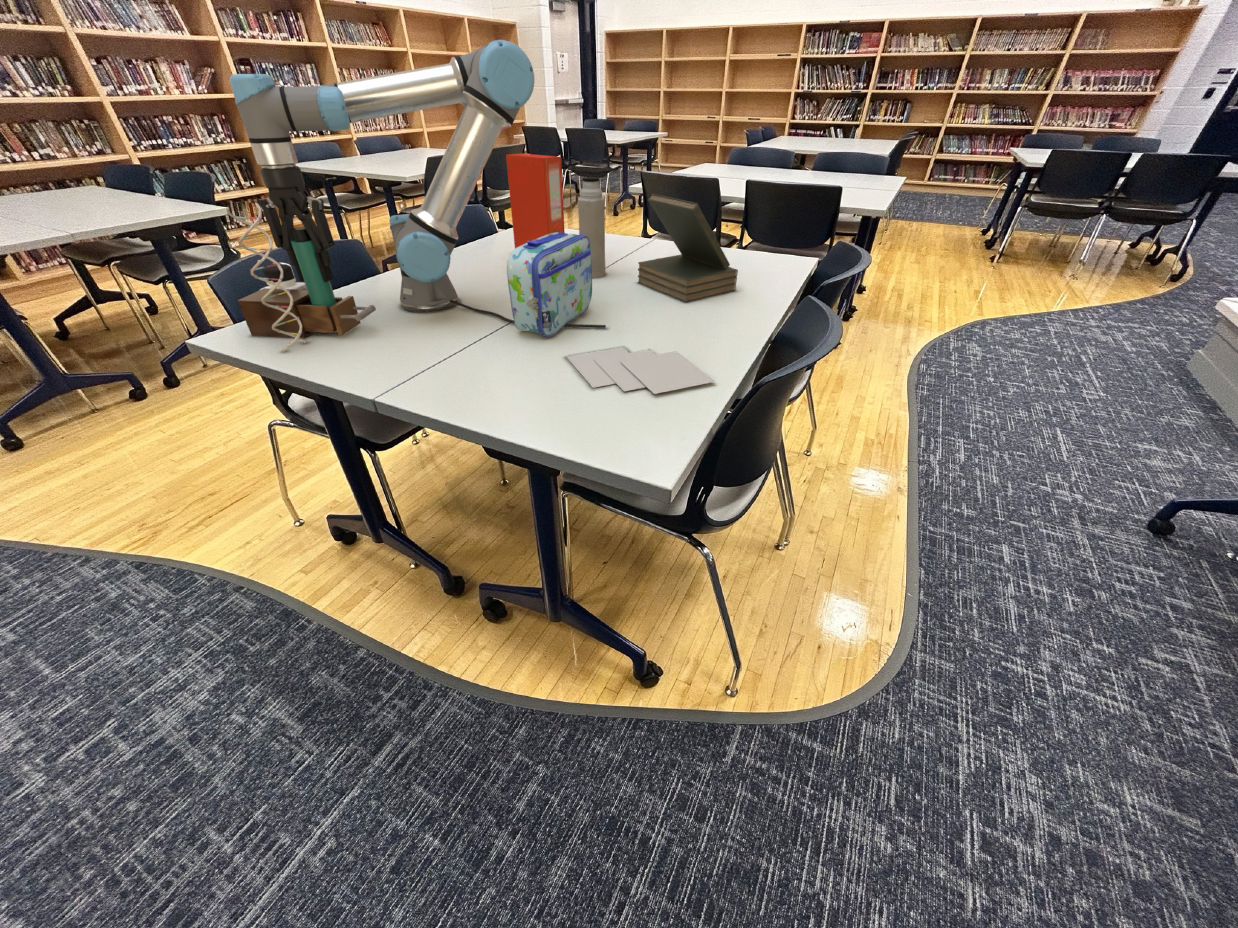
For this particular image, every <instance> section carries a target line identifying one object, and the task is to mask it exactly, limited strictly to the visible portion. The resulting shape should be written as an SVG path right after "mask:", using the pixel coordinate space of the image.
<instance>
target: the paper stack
mask: <svg viewBox="0 0 1238 928" xmlns="http://www.w3.org/2000/svg"><path fill="white" fill-rule="evenodd" d="M565 358H567V360H568V361H569V362H570V363H571V364H572V366H573V367H574V368H575V369H576V370H577V371H578V372H579V374H580V375H581V376H582V377H583V378H584V379H585V380H586V381H587V383H588V384H589V385H590V386H591V387H592V389H594V388H599V387H600V388H601V387H605V386H609V385H615V384H616V385H617V386H618V387H619V388H620V389H621V390H622V391H623V392H629V391H634V390H638V389H639V390H640V389H644V388H647V389H648V390H649V391H650V392H651V393H653V394H654V395H657V394H661V393H666V392H672V391H676V390H682V389H685V388H692V387H696V386H701V385H705V384H706V385H707V384H710V383H716V382H717V381H716V380H715V379H713V377H712V376H710V375H708V374H707V373H706V372H705V371H703V370H702V369H701V368H699V367H698V366H697V365H696V364H694V363H693V362H691V360H689V359H688V358H687V357H685V356H684V355H683V354H681V353H680V352H679V351H677V350H673V351H668V352H663V353H657V354H656V353H655V352H654V351H653V350H651V349H645V350H638V351H633V352H632V351H631V352H629V351H628V350H627V348H625V347H624V346H620V347H614V348H607V349H602V350H597V351H595V350H594V351H590V352H585V353H579V354H572V355H566V356H565Z"/></svg>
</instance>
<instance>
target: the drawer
mask: <svg viewBox="0 0 1238 928" xmlns="http://www.w3.org/2000/svg"><path fill="white" fill-rule="evenodd" d="M335 299H336V302H337V303H336V304H334V305H333V306H331V307H330V310H331V313H332V315H331V314H330V311H329V308H328V306H320V305H312V302H311V299H310V297H309V298H307V299H305V300H303V301H302V302H300V303H298V304H296V305H295V306H296V309H297V312H298V315H299V318H300V320H301V323H302V326H303V329H304V331H307V332H314V333H330V334H333V333H337V335H338V336H345V335H346V334H347V333H349V332H350V331H352V330H353V329H355V328H356V327H357V326H359V325H361V321H363V320H364V319H365V318H367V317H368V316H370V315H371V314H373V313H374V312H376V309H377V308H376V306H375V305H374V304H370V305H368V306H357V305H356V301H355V298H354V296H353V295H348V296H346V297H344V298H343V297H339V296H338V297H337V296H335ZM358 311H359V312H358Z"/></svg>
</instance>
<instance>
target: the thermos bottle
mask: <svg viewBox="0 0 1238 928" xmlns="http://www.w3.org/2000/svg"><path fill="white" fill-rule="evenodd" d="M599 182H600V178H599V177H596V176H586V177H585V176H584V177H582V188H581V189H580V190H579V197H578V198H577V208H578V209H577V210H578V212H577V213H578V235H579V234H584V235H586V236H587V237H588V239H589V243H590V251H591V264H592V279H597V278H602V277H604V276H606V222H605V221H606V220H605V219H606V218H605V217H606V216H605V214H606V213H605V210H606V209H605V198H604V197H603V190H602V189H601V188H600V183H599Z"/></svg>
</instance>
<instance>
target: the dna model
mask: <svg viewBox="0 0 1238 928" xmlns="http://www.w3.org/2000/svg"><path fill="white" fill-rule="evenodd" d="M255 206H256V208H257V210H258V214H257V217H255V216H254V217H252V216H251V217H246V216H237V215H234V214H233V213H232V212H231V211H230V207H229V206H226V208H225V212H226V214H227V215H228V216H230V217H231V218H233V219H234V220H236V221H237V222H240V223H243V224H245V225H247V226H249V228H248V229H247V230H246V231H244V233H242V235H241V236H240V237H237V240H238V246H240V248H242V249H244V250H246V251H248V252H251V253H253V254H256V255H258V256H260V257H261V259H258V260H257V262H256V263H255V264H254V265H253V267H252V268H248V270H249V271H250V275H251V276H252V277H253V278H255V279H257V280H259V281H263V282H265V283H266V284H267V283H270V284H272V285H274V286H273V287H272V288H271V289H270V290H269V292H268V293H267V294H266V295H265V296H263V297H262V300H261V302H262V303H263V304H264V305H266V306H268V307H272V308H275V309H278V310H280V311H282V312H285V313H284V314H283V315H282V316H281V317H280V318H279V319H278V320H277V321H276V322H275V323H274V324H273V325H272V329H273V330H274V331H277V332H279V333H282V334H286V335H289V336H292V337H294V338H293V340H291V341H290V342H289V343H288V345H286V346H285V347H284V348H283V349H282V352H283V353H284V352H286V351H287V350H288V349H289V348H290V347H292V346H293V345H294V344H295V343H296V342H297V340H299V341H300V342H302V343H303V344H306V343H307V341H305V340H304V338H299V337H300V335H301V333H302V323H301V321H300V320H299V317H296V316H295V315H294V314H293V313H291V312H290V310H291V308H292V306H293V298H292V296H291V294H290V290H286V289H285V288H283V287H282V286H280V283H281V281H282V279H283V269H282V268H281V266H280V263H281V262H277V260H275V259H274V258H272V257H271V256H269V255H270V253H271V252H272V251H273V246H274V241H273V239H272V237H271V236H270V234H269V233H268V232H266V231H265V230H264V229H262V228H261V227H259V226H258V224H259V223H260V221H261V219H262V218H263V216H262V215H263V214H262V212H263V209H262V208H261V206H260V205H259V203H258V202H255ZM247 219H248V220H255V221H254V222H253V223H252V222H248V221H247ZM254 229H256V230H258V231H259V232H261V234H257V235H252V236H248V235H249V234H250V233H251V232H252V231H253V230H254ZM263 236H266V238H267V242H268V247H269V248H257V247H248V246H246V245H245V244H244V243H243V240H249V239H253V238H259V237H263ZM259 251H260V252H259ZM262 251H266V252H265V253H262ZM265 260H269V261H270V262H272V263H275V264H274V265H269V266H267V267H271V266H275V265H277V266H278V268H279V270H280V271H281V275H280V279H273V278H272V279H270V278H265V277H261V276H258V275H257V274H256V273H254V271H257V270H262V268H264V266H260V265H261V264H262V263H263V262H264V261H265ZM265 268H266V267H265ZM266 279H267V280H266ZM268 279H270V280H278V282H277V283H274V282H273V281H268ZM277 287H279V288H280V289H282V290H284V291H285V292H283V293H280V294H278V295H281V294H284V293H287V294H288V296H289V297H290V305H289V307H287V306H281V307H284V308H288V309H287V311H286V310H284V309H282V308H279V306H273V305H270V304H267V303H266V302H265V299H267V298H270V297H274V296H277V294H276V295H272V296H269V295H270V294H271V293H272V292H273V291H274V290H275V289H276V288H277ZM268 296H269V297H268ZM288 314H289V315H291V316H293V317H294V318H295V319H292V320H289V321H287V322H290V321H294V320H297V321H298V323H299V325H300V329H299V332H298V334H297V333H291V334H290V333H289V332H284V331H281V330H278V329H276V328H275V327H276V326H279V325H282V324H284V322H283V323H280V324H278V323H279V322H280V321H281V320H283V319H284V318H285V317H286V316H287V315H288ZM285 323H286V322H285ZM295 335H297V336H295Z"/></svg>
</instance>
